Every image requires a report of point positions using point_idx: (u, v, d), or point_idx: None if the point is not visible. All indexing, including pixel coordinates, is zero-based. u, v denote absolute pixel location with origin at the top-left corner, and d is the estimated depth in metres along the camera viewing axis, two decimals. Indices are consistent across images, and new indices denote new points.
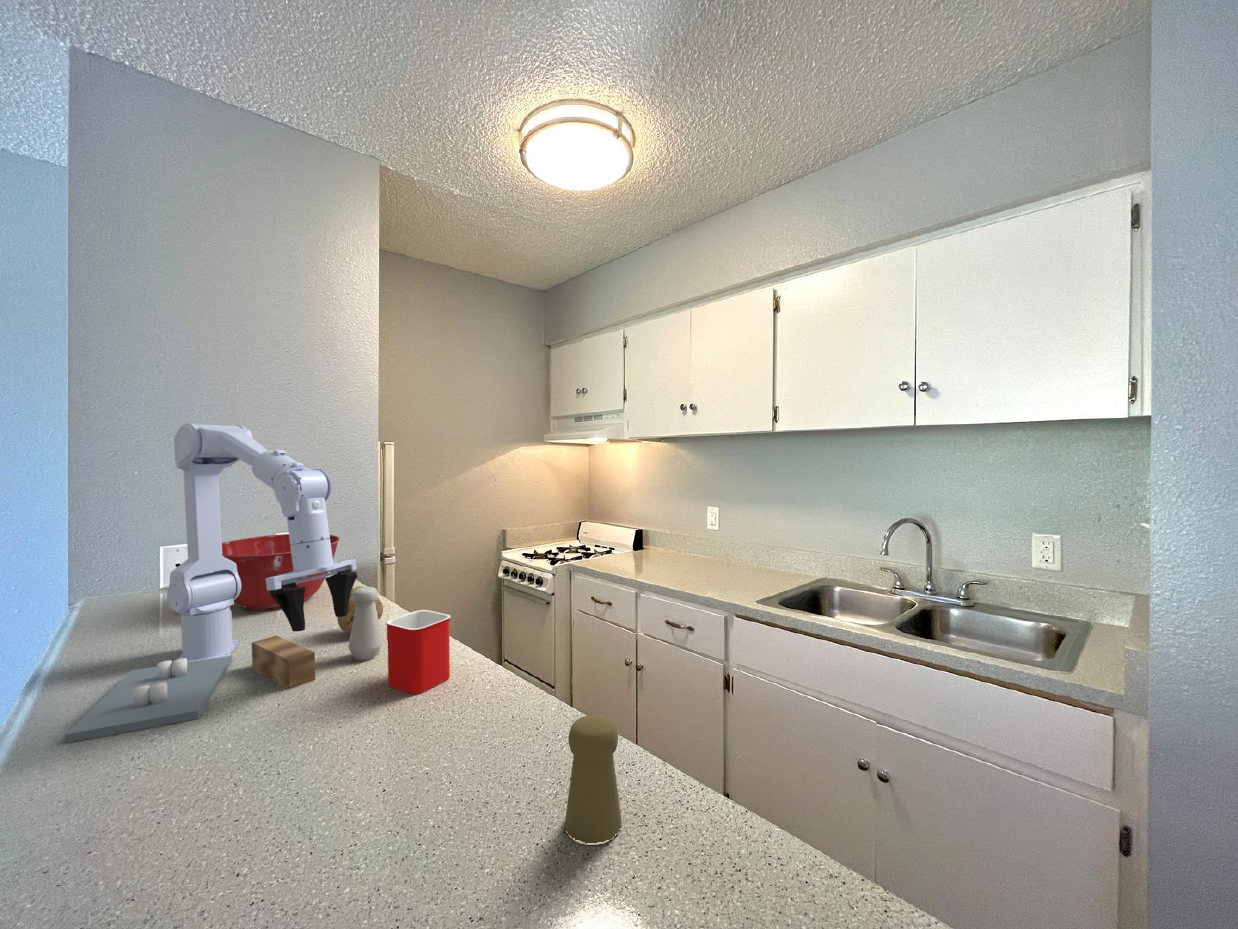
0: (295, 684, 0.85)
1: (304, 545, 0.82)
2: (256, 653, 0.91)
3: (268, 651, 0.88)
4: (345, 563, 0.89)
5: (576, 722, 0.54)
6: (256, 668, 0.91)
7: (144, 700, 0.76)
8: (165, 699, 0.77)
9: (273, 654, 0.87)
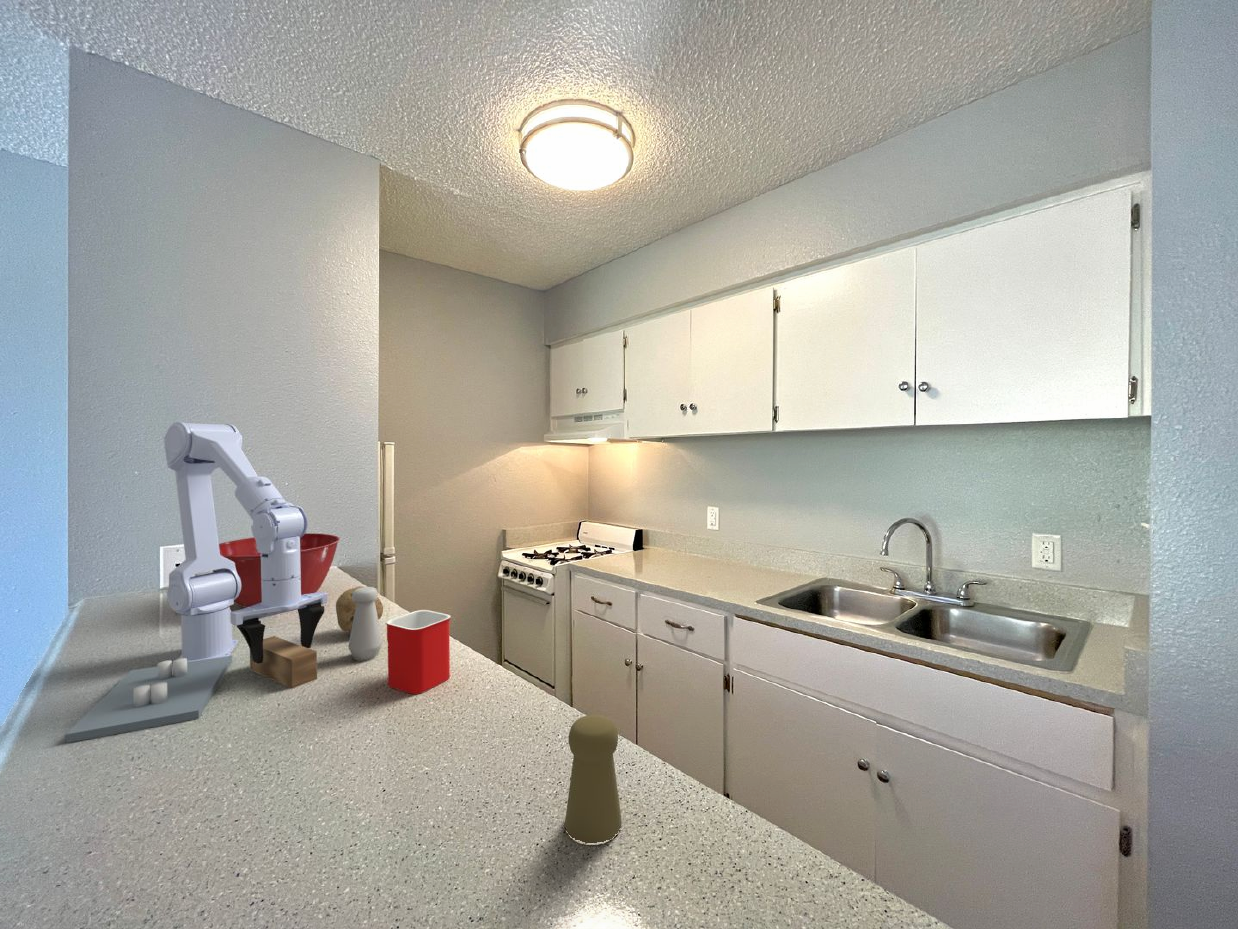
0: (298, 683, 0.85)
1: (271, 583, 0.86)
2: None
3: (268, 651, 0.88)
4: (314, 598, 0.92)
5: (576, 722, 0.54)
6: (254, 669, 0.90)
7: (144, 700, 0.76)
8: (165, 699, 0.77)
9: (274, 654, 0.87)
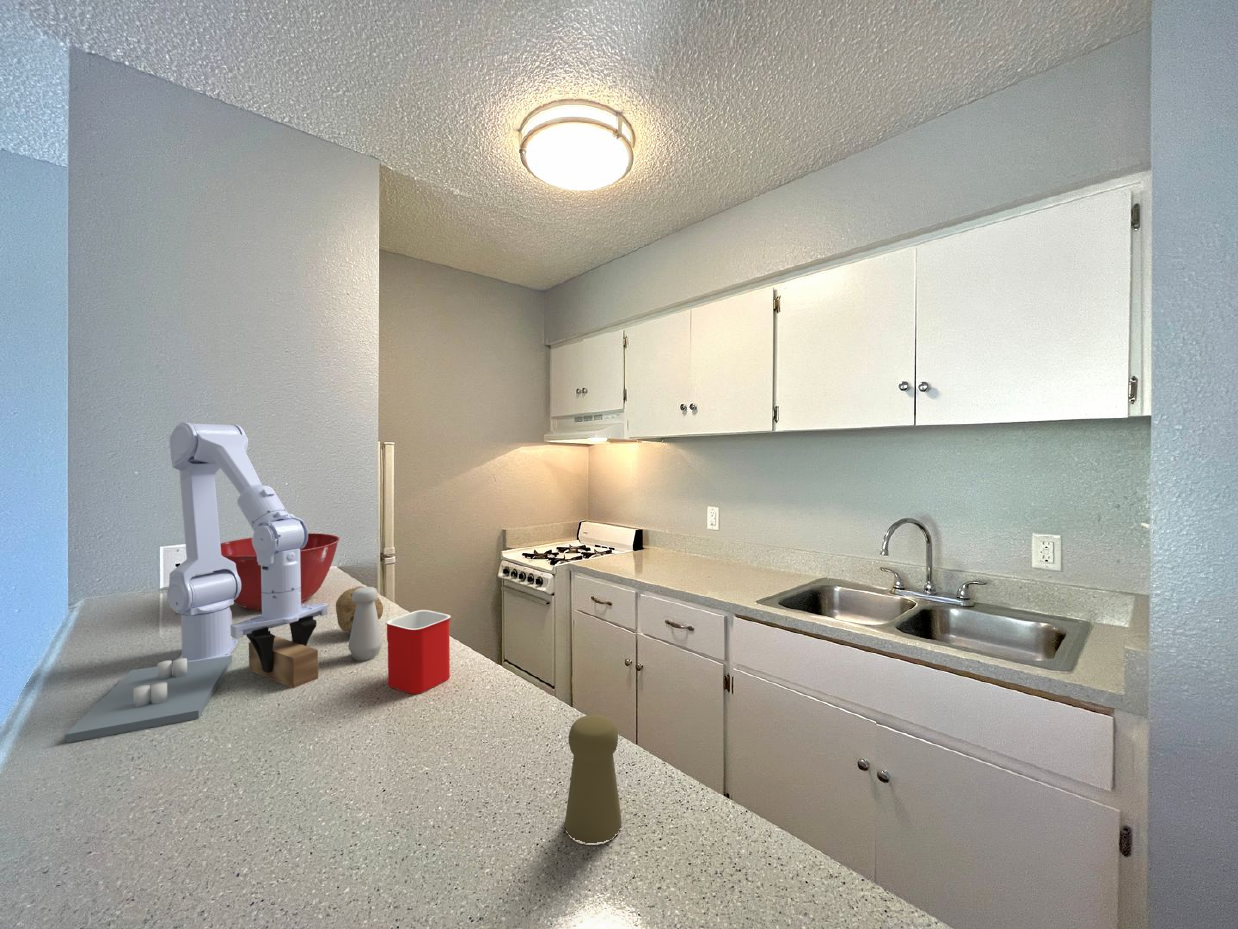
0: (299, 682, 0.85)
1: (271, 595, 0.86)
2: (254, 653, 0.90)
3: None
4: (314, 610, 0.92)
5: (576, 722, 0.54)
6: (254, 668, 0.90)
7: (144, 700, 0.76)
8: (165, 699, 0.77)
9: (275, 652, 0.87)
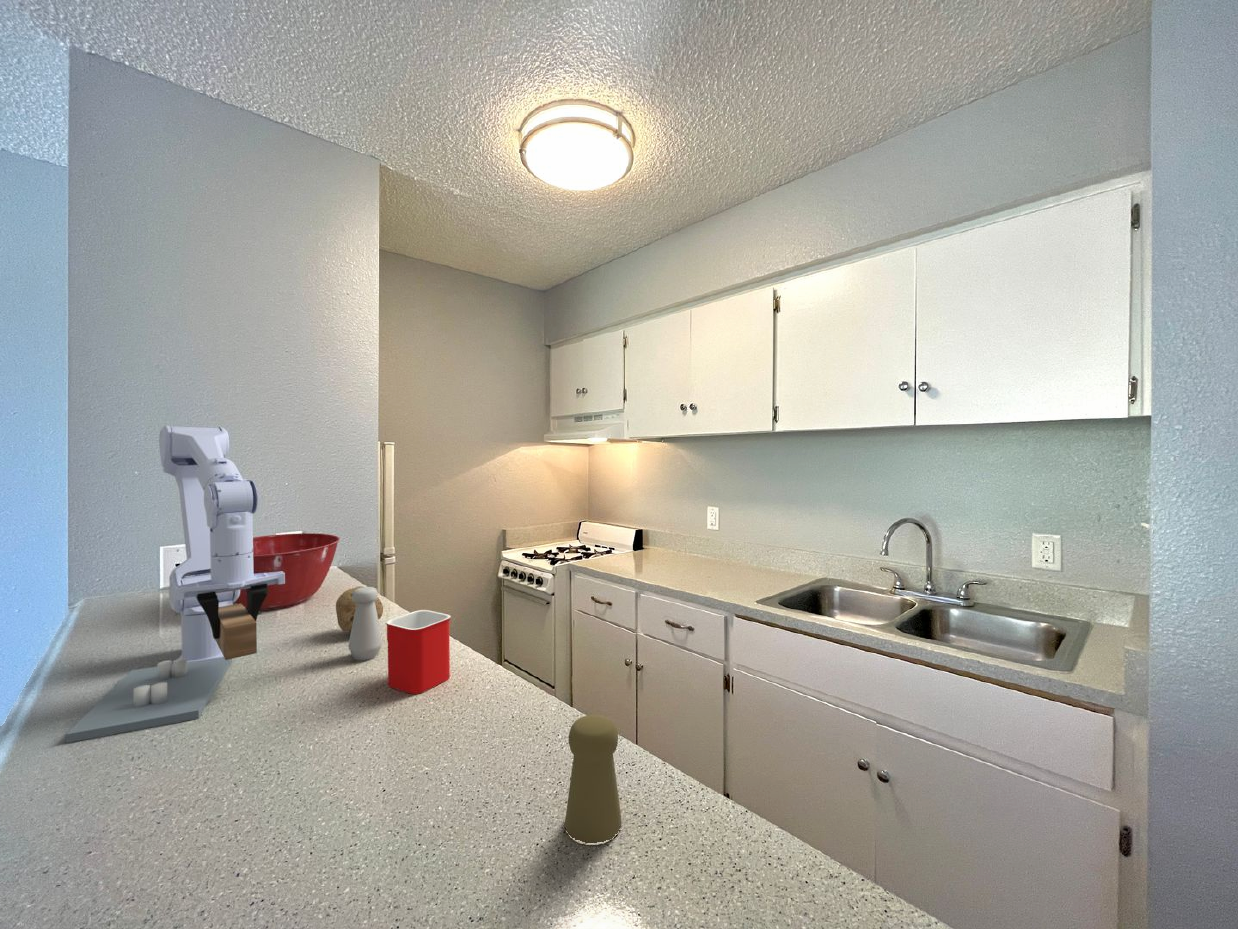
0: (232, 654, 0.80)
1: (216, 559, 0.83)
2: None
3: (218, 617, 0.85)
4: (268, 578, 0.88)
5: (576, 722, 0.54)
6: None
7: (144, 700, 0.76)
8: (165, 699, 0.77)
9: (220, 621, 0.83)
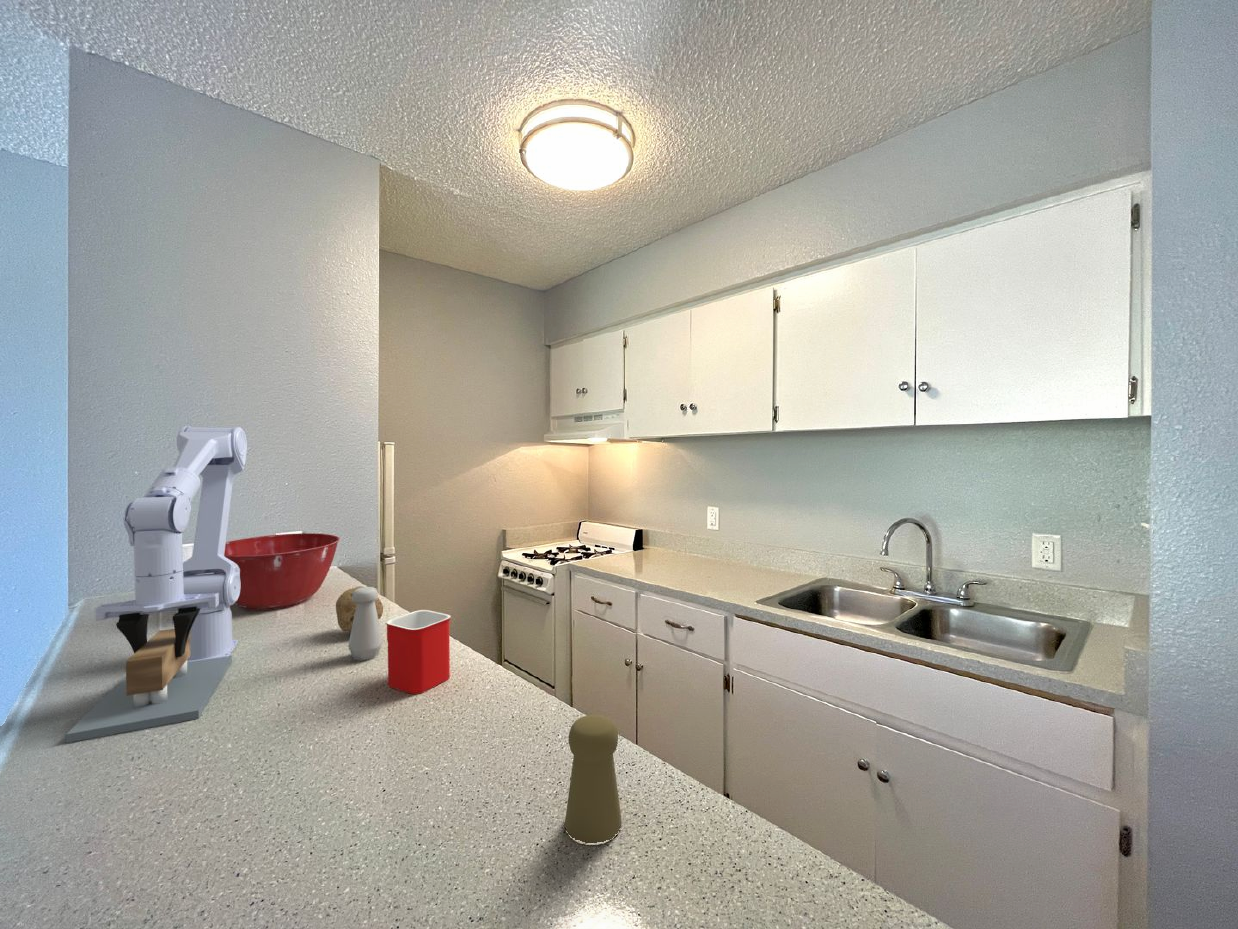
0: (134, 690, 0.74)
1: (136, 579, 0.78)
2: None
3: None
4: (194, 601, 0.82)
5: (576, 722, 0.54)
6: None
7: (144, 700, 0.76)
8: (165, 699, 0.77)
9: (140, 649, 0.79)
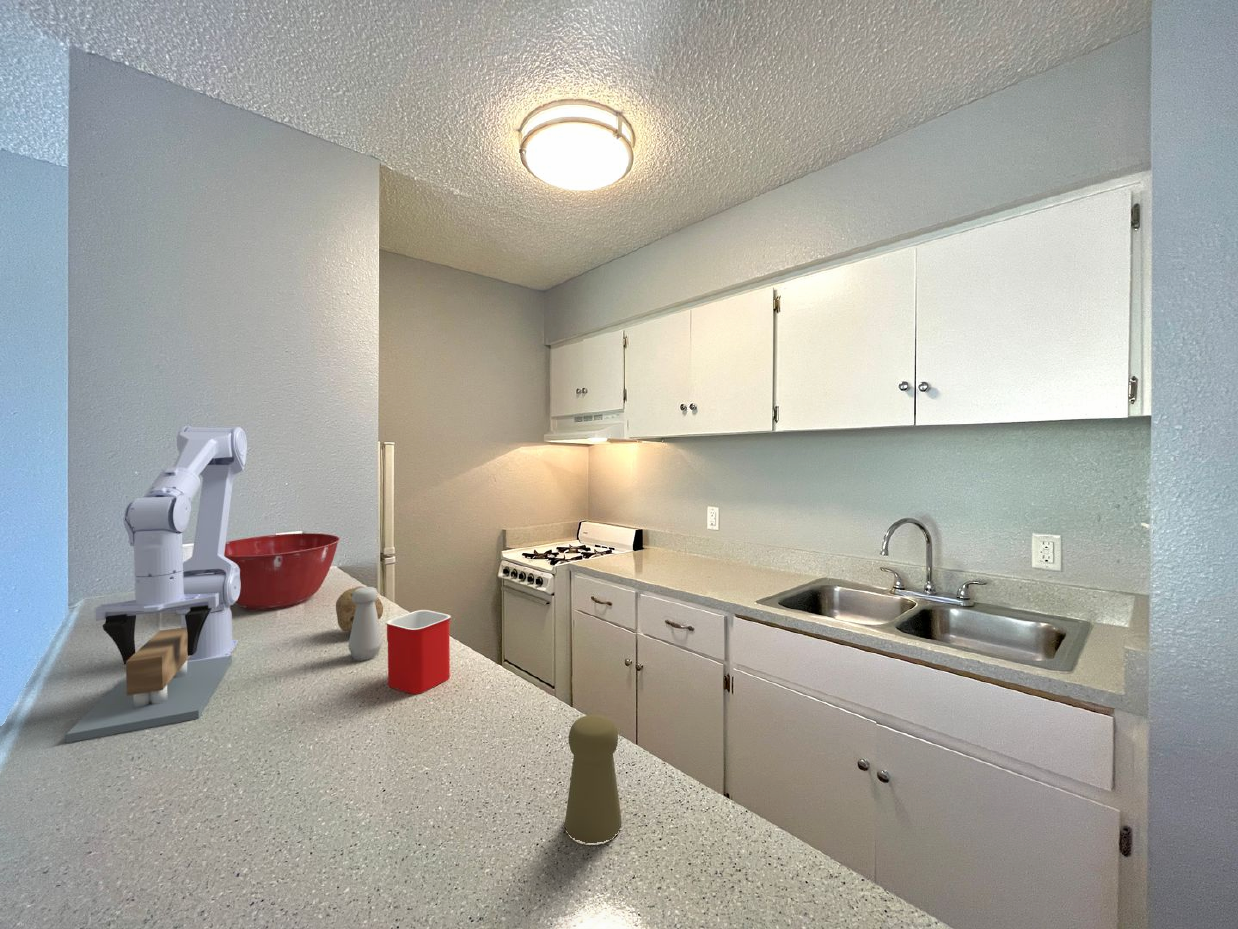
0: (135, 689, 0.74)
1: (136, 579, 0.78)
2: None
3: (145, 645, 0.80)
4: (194, 601, 0.82)
5: (576, 722, 0.54)
6: None
7: (144, 700, 0.76)
8: (165, 699, 0.77)
9: (140, 649, 0.79)
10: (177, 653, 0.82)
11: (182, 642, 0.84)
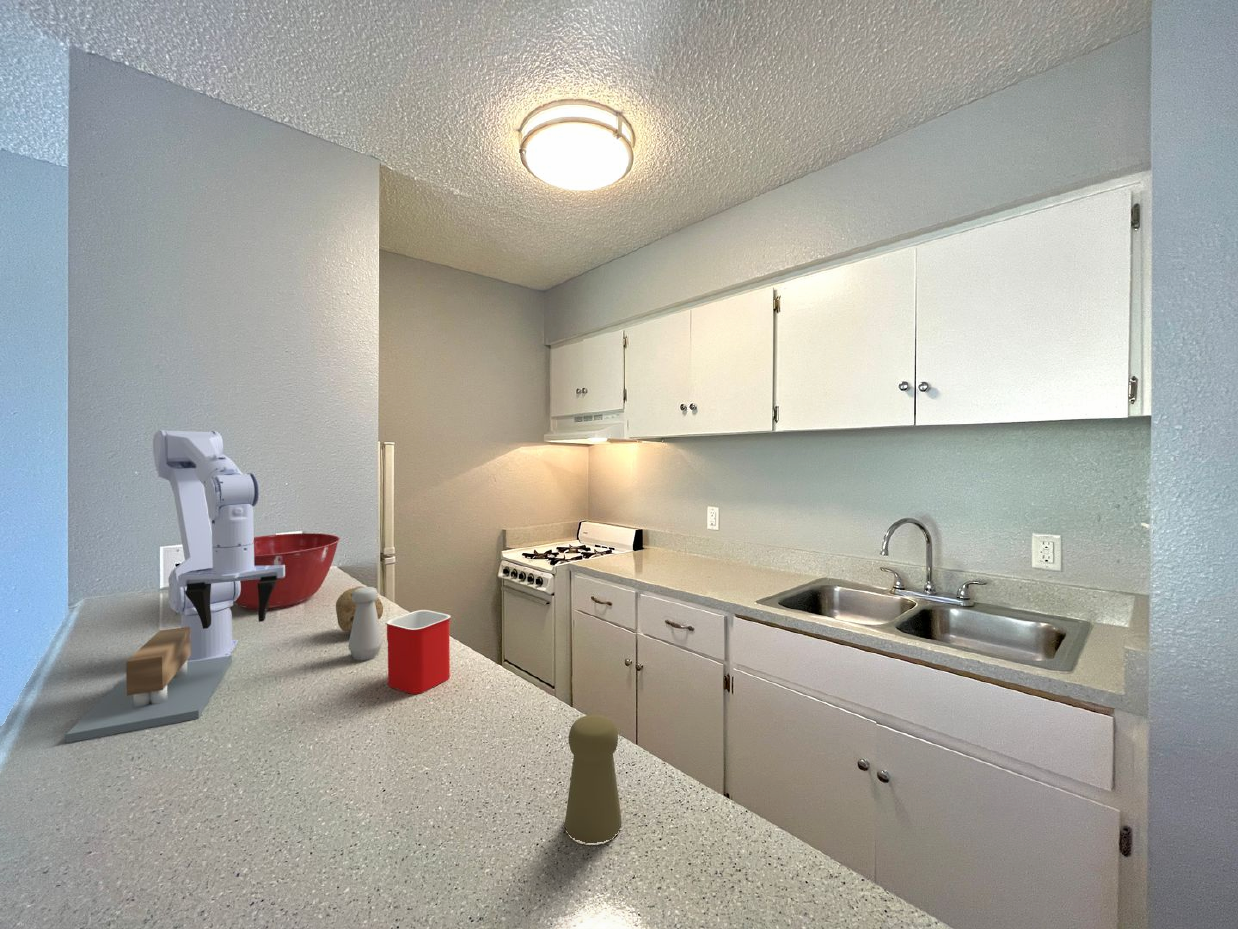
0: (135, 689, 0.74)
1: (214, 549, 0.85)
2: None
3: (145, 645, 0.80)
4: (265, 571, 0.88)
5: (576, 722, 0.54)
6: None
7: (144, 700, 0.76)
8: (165, 699, 0.77)
9: (140, 649, 0.79)
10: (177, 653, 0.82)
11: (182, 642, 0.84)
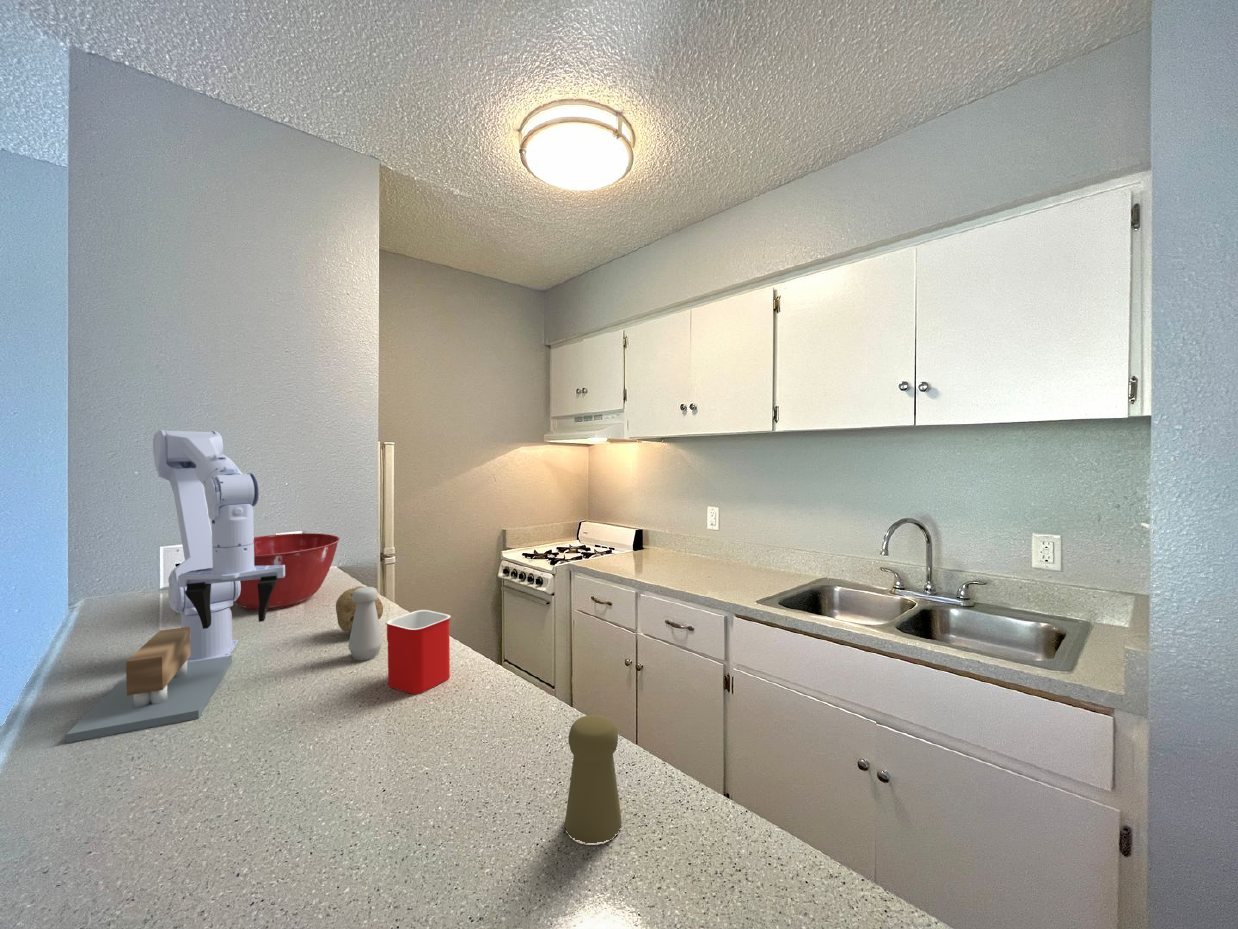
0: (135, 689, 0.74)
1: (214, 549, 0.85)
2: None
3: (145, 645, 0.80)
4: (265, 571, 0.88)
5: (576, 722, 0.54)
6: None
7: (144, 700, 0.76)
8: (165, 699, 0.77)
9: (140, 649, 0.79)
10: (177, 653, 0.82)
11: (182, 642, 0.84)
